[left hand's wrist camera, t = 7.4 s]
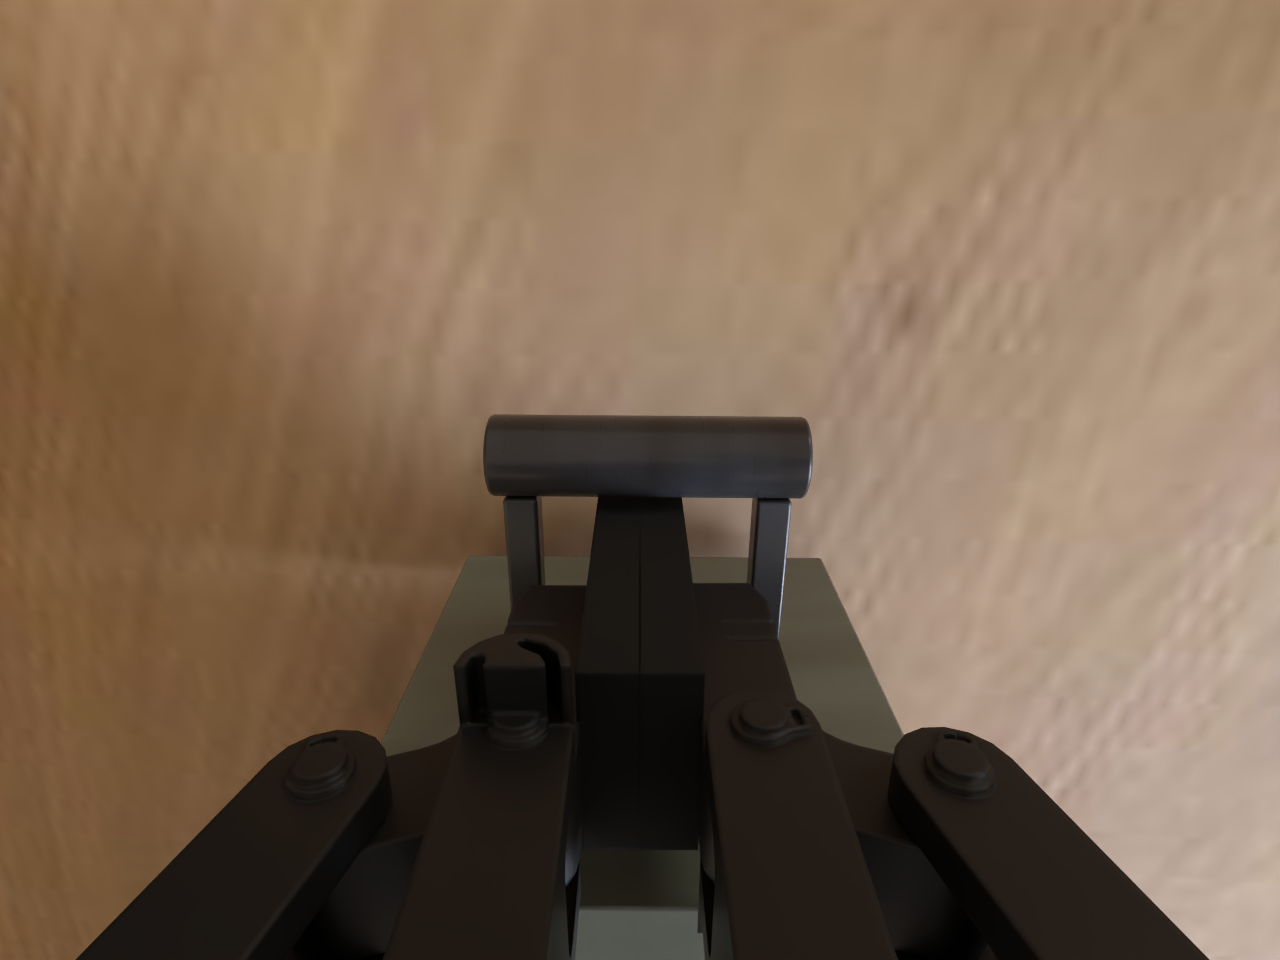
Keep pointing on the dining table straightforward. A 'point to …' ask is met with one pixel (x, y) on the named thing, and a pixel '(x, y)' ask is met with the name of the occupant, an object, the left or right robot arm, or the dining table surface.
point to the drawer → (794, 587)
